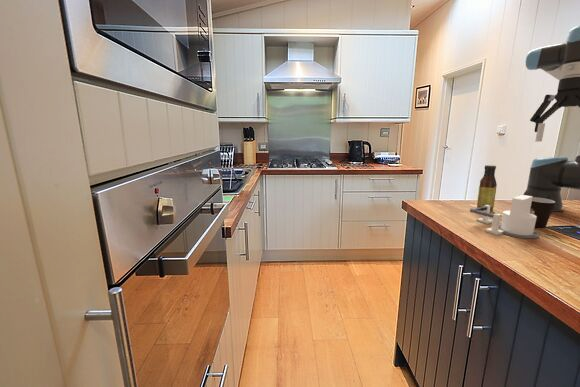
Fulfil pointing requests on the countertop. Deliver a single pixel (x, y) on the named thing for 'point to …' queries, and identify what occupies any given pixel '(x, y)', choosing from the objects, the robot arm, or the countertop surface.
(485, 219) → the wire posts
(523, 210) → the base with upright slab
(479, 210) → the bent wire
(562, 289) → the countertop surface
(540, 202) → the coffee mug
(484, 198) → the sauce bottle
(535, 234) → the coaster
